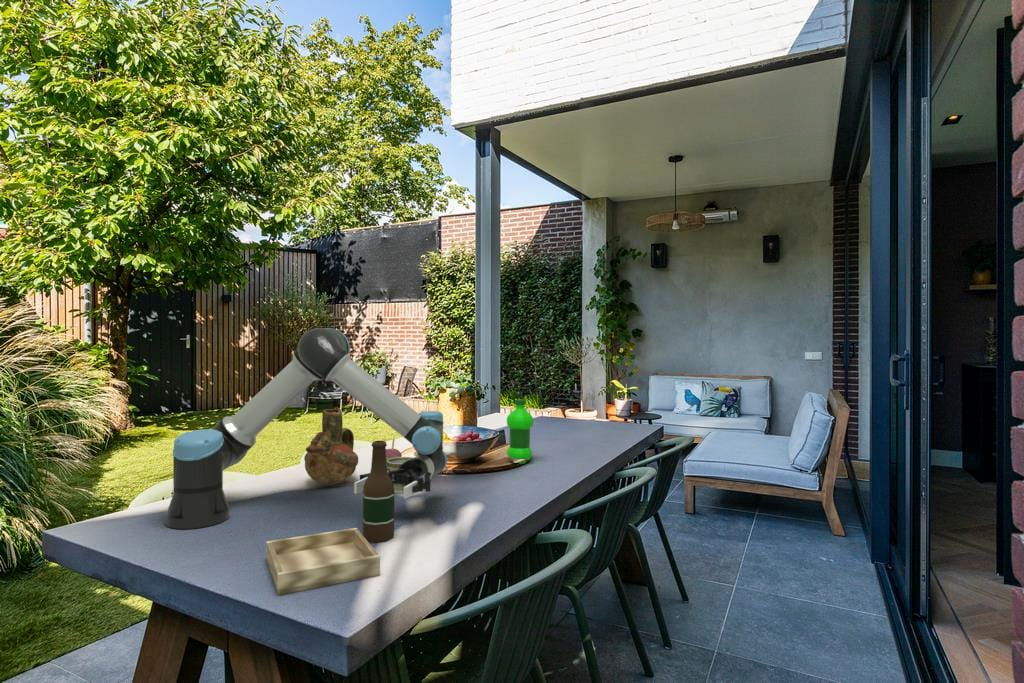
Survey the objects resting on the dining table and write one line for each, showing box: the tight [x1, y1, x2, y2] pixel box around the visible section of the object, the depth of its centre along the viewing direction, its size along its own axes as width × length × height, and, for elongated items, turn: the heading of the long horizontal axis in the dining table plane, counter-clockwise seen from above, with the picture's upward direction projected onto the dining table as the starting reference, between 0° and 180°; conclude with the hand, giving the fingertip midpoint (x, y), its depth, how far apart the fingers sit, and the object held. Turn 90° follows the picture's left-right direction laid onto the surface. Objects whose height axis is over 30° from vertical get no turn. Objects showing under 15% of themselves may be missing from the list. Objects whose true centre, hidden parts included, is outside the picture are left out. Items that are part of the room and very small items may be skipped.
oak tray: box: [265, 527, 381, 596], centre depth 124 cm, size 20×20×4 cm
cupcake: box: [386, 437, 403, 469], centre depth 217 cm, size 9×8×12 cm
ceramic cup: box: [387, 456, 414, 495], centre depth 184 cm, size 13×10×10 cm
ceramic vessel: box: [303, 408, 359, 485], centre depth 192 cm, size 17×26×25 cm, turn 170°
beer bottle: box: [362, 440, 395, 544], centre depth 142 cm, size 8×8×24 cm
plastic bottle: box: [506, 398, 534, 465], centre depth 227 cm, size 10×10×25 cm
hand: (379, 490), depth 142 cm, fingers open, 13 cm apart
